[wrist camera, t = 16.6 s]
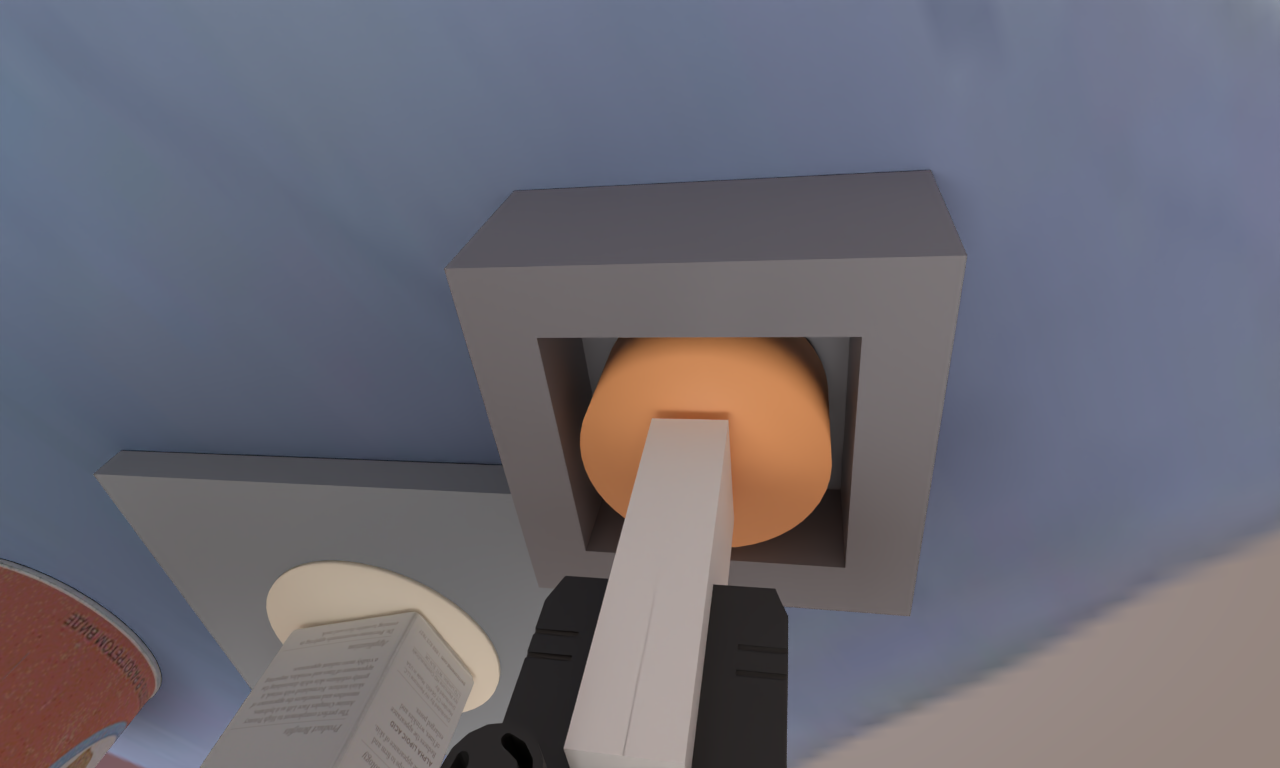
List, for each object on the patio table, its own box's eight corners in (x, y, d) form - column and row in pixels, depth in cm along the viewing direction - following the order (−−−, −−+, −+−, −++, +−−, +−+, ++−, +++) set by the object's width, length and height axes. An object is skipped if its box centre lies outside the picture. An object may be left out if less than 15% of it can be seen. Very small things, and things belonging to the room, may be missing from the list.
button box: (577, 480, 21) (538, 587, 18) (514, 190, 16) (443, 268, 13) (892, 494, 20) (910, 616, 16) (930, 170, 14) (966, 255, 11)
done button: (619, 475, 19) (599, 541, 17) (588, 299, 16) (559, 355, 14) (824, 482, 17) (827, 554, 16) (832, 294, 15) (837, 356, 13)
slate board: (298, 708, 34) (281, 737, 33) (120, 450, 25) (88, 478, 24) (626, 749, 30) (619, 783, 29) (559, 467, 21) (545, 500, 20)
